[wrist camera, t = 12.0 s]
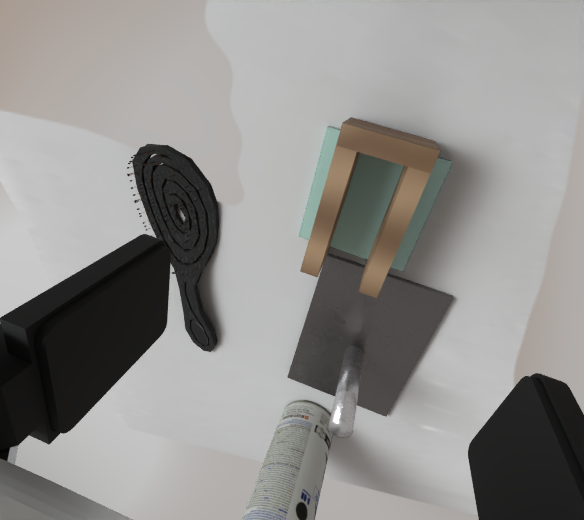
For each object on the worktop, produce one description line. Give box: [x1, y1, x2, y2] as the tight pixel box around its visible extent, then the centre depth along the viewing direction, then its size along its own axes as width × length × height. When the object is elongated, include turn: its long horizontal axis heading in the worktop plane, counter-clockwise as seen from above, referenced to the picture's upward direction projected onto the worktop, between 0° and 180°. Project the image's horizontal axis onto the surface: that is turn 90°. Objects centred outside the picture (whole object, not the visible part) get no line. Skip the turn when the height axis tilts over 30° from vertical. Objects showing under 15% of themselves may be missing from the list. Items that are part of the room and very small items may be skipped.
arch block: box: [300, 117, 440, 298], centre depth 28 cm, size 12×7×4 cm, turn 166°
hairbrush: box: [127, 144, 219, 352], centre depth 38 cm, size 8×4×25 cm
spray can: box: [242, 401, 333, 520], centre depth 36 cm, size 7×7×20 cm
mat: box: [299, 126, 452, 271], centre depth 30 cm, size 10×10×1 cm
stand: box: [288, 253, 453, 438], centre depth 33 cm, size 17×12×10 cm
